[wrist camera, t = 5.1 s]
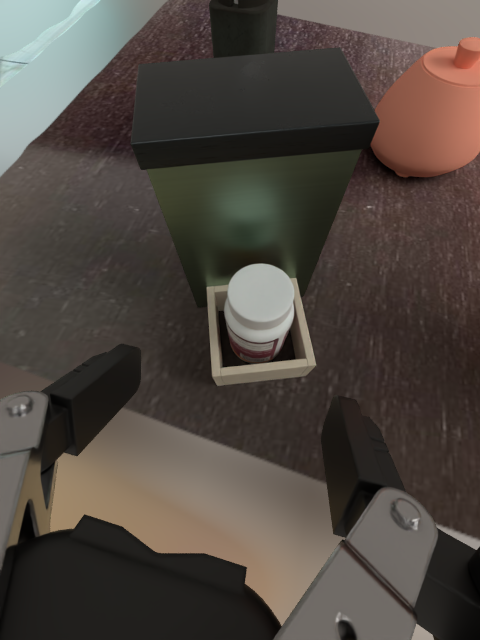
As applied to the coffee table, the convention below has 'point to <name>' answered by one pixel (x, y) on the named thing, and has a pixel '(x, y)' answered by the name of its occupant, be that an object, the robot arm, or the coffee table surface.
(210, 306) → the dock
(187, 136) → the dispenser
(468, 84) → the sugar bowl
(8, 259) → the coffee table surface
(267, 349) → the pill bottle
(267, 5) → the candle
